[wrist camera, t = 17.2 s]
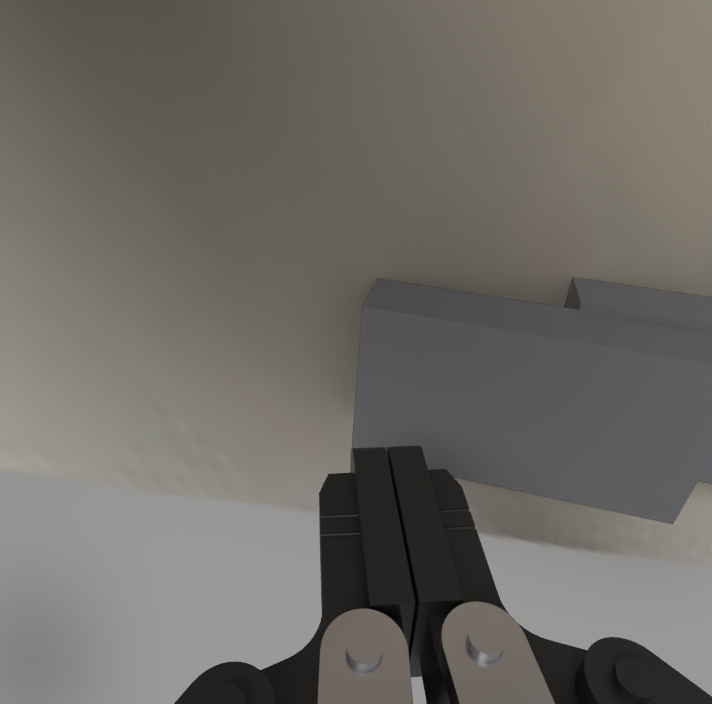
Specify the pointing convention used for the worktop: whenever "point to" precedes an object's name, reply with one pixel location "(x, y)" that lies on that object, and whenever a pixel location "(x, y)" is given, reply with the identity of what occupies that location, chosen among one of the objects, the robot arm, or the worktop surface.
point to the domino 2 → (643, 310)
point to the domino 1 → (537, 396)
